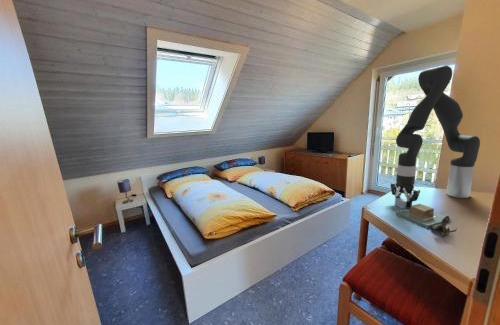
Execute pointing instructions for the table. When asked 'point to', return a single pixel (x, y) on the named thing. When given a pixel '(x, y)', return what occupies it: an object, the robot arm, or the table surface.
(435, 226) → the eagle figurine
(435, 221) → the board
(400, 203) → the blue-grey brick
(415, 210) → the walnut brick
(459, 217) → the table surface
